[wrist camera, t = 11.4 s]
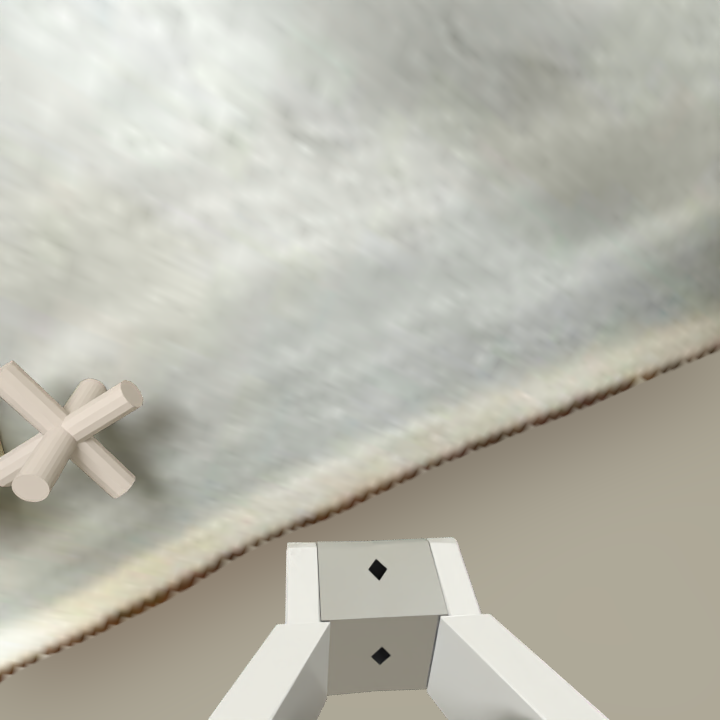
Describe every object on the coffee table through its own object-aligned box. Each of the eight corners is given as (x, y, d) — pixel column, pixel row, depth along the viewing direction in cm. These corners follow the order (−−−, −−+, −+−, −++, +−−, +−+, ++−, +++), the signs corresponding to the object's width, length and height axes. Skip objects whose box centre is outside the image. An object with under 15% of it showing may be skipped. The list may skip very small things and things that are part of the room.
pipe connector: (199, 406, 40) (171, 505, 31) (88, 473, 41) (31, 584, 32) (96, 293, 35) (30, 369, 26) (-24, 372, 37) (-125, 469, 28)
